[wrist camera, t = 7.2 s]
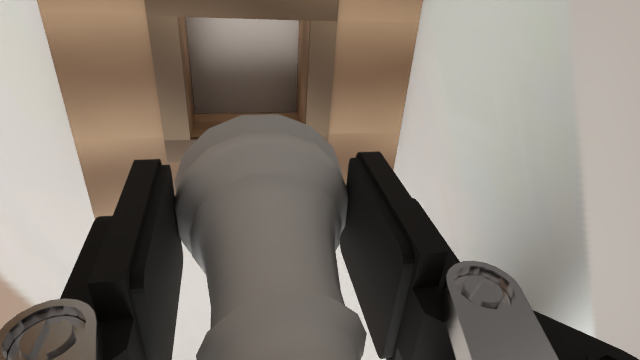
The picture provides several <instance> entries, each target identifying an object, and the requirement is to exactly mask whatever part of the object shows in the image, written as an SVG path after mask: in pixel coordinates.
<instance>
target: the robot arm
mask: <svg viewBox="0 0 640 360" xmlns="http://www.w3.org/2000/svg"><path fill="white" fill-rule="evenodd" d="M346 187H347V190H348V204H347V213H346V222H345V228H344V229H343V231H342V233H341V236H340V248H341V253H342V256H343V258H344V261H345V264H346V267H347V270H348V273H349V275H350V278H351V281H352V284H353V287H354V290H355V292H356V295H357V298H358V301H359V304H360V307H361V309H362V312H363V315H364V318H365V321H366V324H367V326H368V329H369V332H370V335H371V338H372V341H373V343H374V346H375V349H376V352H377V354H378V356H379V358H380V359H384V358H386V359H387V360H639V359H637V358H636V357H634V356H632V355H630V354H628V353H627V352H624V351H623V350H621V349H618V348H616V347H614V346H612V345H609V344H607V343H605V342H603V341H601V340H598V339H596V338H594V337H592V336H589V335H587V334H585V333H583V332H580V331H578V330H576V329H574V328H571V327H569V326H567V325H565V324H563V323H560V322H558V321H556V320H554V319H551V318H549V317H547V316H545V315H542V314H540V313H538V312H536V311H533V310H532V308H531V306H530V305H529V303H528V301H527V299H526V297H525V295H524V293H523V291H522V289H521V288H520V286H519V285H518V284H517V282H516V281H515V280H514V279H513V278H512V277H511V276H509V275H508V274H507V273H506V272H504V271H502V270H500V269H499V268H497V267H495V266H492V265H489V264H486V263H482V262H476V261H463V262H459V260H458V259H457V257H456V256H455V254H454V253H453V251H452V250H451V249H450V247H449V246H448V244H447V243H446V241H445V240H444V238H443V237H442V236H441V234H440V233H439V231H438V230H437V228H436V227H435V225H434V224H433V223H432V221H431V220H430V218H429V217H428V215H427V214H426V213H425V211H424V210H423V208H422V207H421V205H420V204H419V202H418V201H417V200H416V199H414V198H411V196H410V195H409V193H408V192H407V190H406V189H405V187H404V186H403V184H402V183H401V181H400V180H399V178H398V177H397V176H396V174H395V173H394V171H393V170H392V168H391V167H390V165H389V164H388V162H387V161H386V159H385V158H384V156H383V155H382V153H381V152H380V151H376V152H358V153H357V155H356V158H350V160H349V165H348V174H347V183H346ZM174 198H175V194H174V187H173V179H172V172H171V167H170V165H162V163H161V160H160V159H144V160H134V162H133V164H132V167H131V169H130V172H129V174H128V177H127V180H126V182H125V185H124V188H123V190H122V193H121V195H120V198H119V201H118V203H117V206H116V208H115V211H114V214H113V216H99V217H97V218H96V219H95V221H94V222H93V225H92V227H91V229H90V232H89V234H88V236H87V238H86V241H85V243H84V245H83V248H82V250H81V252H80V254H79V257H78V259H77V261H76V264H75V266H74V268H73V270H72V273H71V275H70V277H69V279H68V282H67V284H66V286H65V289H64V291H63V293H62V295H61V298H60V299H57V300H50V301H47V302H44V303H41V304H37V305H34V306H32V307H31V308H29V309H27V310H25V311H23V312H21V313H19V314H18V315H16V316H15V317H14V318H13V319H11V320H10V321H8V322H7V323H6V324H5V325H4V326H3V328H2V329H1V330H0V360H172V351H173V343H174V335H175V327H176V318H177V310H178V302H179V294H180V285H181V277H182V269H183V251H182V244H181V239H180V236H179V233H178V227H177V220H176V214H175V207H174Z"/></svg>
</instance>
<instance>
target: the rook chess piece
mask: <svg viewBox="0 0 640 360" xmlns="http://www.w3.org/2000/svg"><path fill="white" fill-rule="evenodd" d="M342 175H343V173H342V170H341V167H340V165H339V162H338V159H337V157H336V154H335V152H334V149H333V147H332V146H331V145H330V144H329V143H328V142H327V141H326V140H325V139H324V138H323V137H322V136H321V135H320V134H319V133H317V132H316V131H315V130H314V129H313V128H312V127H311V126H309V125H307V124H304V123H301V122H298V121H296V120H293V119H290V118H288V117H285V116H282V115H279V114H263V115H241V116H238V117H236V118H233V119H231V120H228V121H226V122H223V123H221V124H219V125H216V126H214V127H211V128H209V129H207V130H206V131H205V132H204V133H203V134H202V135H201V136H200V137H199V138H198V139H197V140H196V141H195V142H194V143H193V144H192V145H191V146H190V147H189V148H188V149H187V150H186V151H185V152H184V154H183V157H182V160H181V163H180V166H179V169H178V171H177V174H176V177H175V180H174V186H175V193H176V195H175V198H174V207H175V214H176V220H177V227H178V233H179V236H180V239H181V240H182V242H183V243H184V245H185V246H186V247H187V249H188V250H189V251H190V253H191V254H192V256H193V258H194V259H195V261H196V262H197V263H198V265H199V266H200V267H201V269H202V270H203V271H204V273H205V274H206V276H207V283H208V290H209V297H210V303H211V329H210V330H209V331H208V332H207V334H206V336H205V338H204V340H203V342H202V344H201V346H200V348H199V351H198V353H197V355H196V358H197V360H360V359H361V357H362V355H363V352H364V346H365V340H366V334H367V333H366V331H365V329H364V327H363V325H362V323H361V320H360V318H359V316H358V314H357V313H355V312H354V311H352V310H351V309H349V308H348V307H346V306H345V304H344V301H343V297H342V294H341V290H340V283H339V275H338V268H337V260H336V253H335V251H336V249H337V247H338V246H339V244H340V235H341V233H342V231H343V229H344V228H345V222H346V213H347V204H348V190H347V187H346V184H345V181H344V179H343V176H342Z"/></svg>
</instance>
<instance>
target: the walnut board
mask: <svg viewBox="0 0 640 360" xmlns="http://www.w3.org/2000/svg"><path fill="white" fill-rule="evenodd" d="M37 2H38V6H39V10H40V14H41V18H42V21H43V25H44V29H45V33H46V36H47V40H48V44H49V48H50V51H51V55H52V59H53V63H54V67H55V70H56V74H57V78H58V82H59V85H60V89H61V93H62V97H63V100H64V104H65V108H66V112H67V116H68V119H69V123H70V127H71V131H72V134H73V138H74V142H75V146H76V150H77V153H78V157H79V161H80V165H81V168H82V172H83V176H84V180H85V183H86V187H87V191H88V195H89V199H90V202H91V206H92V210H93V214H94V217H95V219H96V218H97V217H99V216H113V214H114V211H115V208H116V206H117V203H118V201H119V198H120V195H121V193H122V190H123V188H124V185H125V182H126V180H127V177H128V174H129V172H130V169H131V167H132V164H133V162H134V160H144V159H160V160H161V163H162V165H170V167H171V172H172V179H173V187H174V194H175V195H176V193H175V186H174V180H175V177H176V174H177V171H178V169H179V166H180V163H181V160H182V157H183V154H184V152H185V151H186V150H187V149H188V148H189V147H190V146H191V145H192V144H193V143H194V142H195V141H196V140H197V139H198V138H199V137H200V136H201V135H202V134H203V133H204V132H205V131H206V130H207V129H209V128H211V127H214V126H216V125H219V124H221V123H223V122H226V121H228V120H231V119H233V118H236V117H238V116H241V115H263V114H279V115H282V116H285V117H288V118H290V119H293V120H296V121H298V122H301V123H304V124H307V125H309V126H311V127H312V128H313V129H314V130H315V131H316V132H317V133H319V134H320V135H321V136H322V137H323V138H324V139H325V140H326V141H327V142H328V143H329V144H330V145H331V146H332V147H333V149H334V152H335V154H336V157H337V159H338V162H339V165H340V167H341V170H342V173H343V175H342V176H343V179H344V181H345V184H346V183H347V174H348V165H349V160H350V158H356V155H357V153H358V152H376V151H380V152H381V153H382V155H383V156H384V158H385V159H386V161H387V162H388V164H389V165H390V167H391V168H392V170H393V169H394V163H395V157H396V151H397V146H398V140H399V134H400V129H401V123H402V117H403V111H404V106H405V100H406V94H407V88H408V83H409V77H410V71H411V66H412V60H413V54H414V48H415V43H416V37H417V31H418V25H419V20H420V14H421V8H422V3H423V0H37ZM185 17H209V18H243V19H276V20H299V44H298V72H297V101H296V112H292V113H218V114H195V111H194V101H193V91H192V81H191V70H190V60H189V50H188V40H187V30H186V19H185Z"/></svg>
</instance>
